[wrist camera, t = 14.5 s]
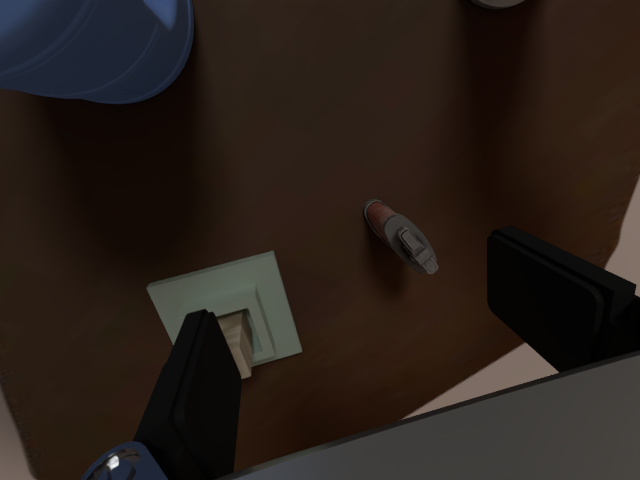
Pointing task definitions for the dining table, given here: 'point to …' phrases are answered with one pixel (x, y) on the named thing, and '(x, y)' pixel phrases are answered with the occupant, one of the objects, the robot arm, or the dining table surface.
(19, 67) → the water jug
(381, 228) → the lighter
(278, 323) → the slot holder
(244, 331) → the birch peg
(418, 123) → the dining table surface
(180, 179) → the dining table surface
